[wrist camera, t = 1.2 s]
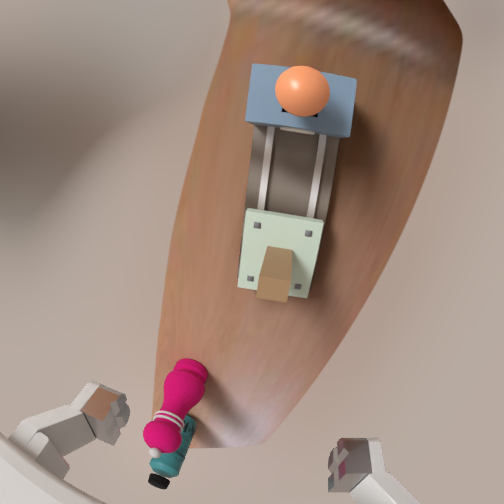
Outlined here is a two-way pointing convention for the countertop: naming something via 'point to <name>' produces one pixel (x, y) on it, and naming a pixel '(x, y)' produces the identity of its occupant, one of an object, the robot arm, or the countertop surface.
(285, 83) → the orange rounded knob
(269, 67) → the blue side pieces
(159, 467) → the beverage bottle
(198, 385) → the pepper mill
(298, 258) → the carriage
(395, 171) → the countertop surface
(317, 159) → the track
